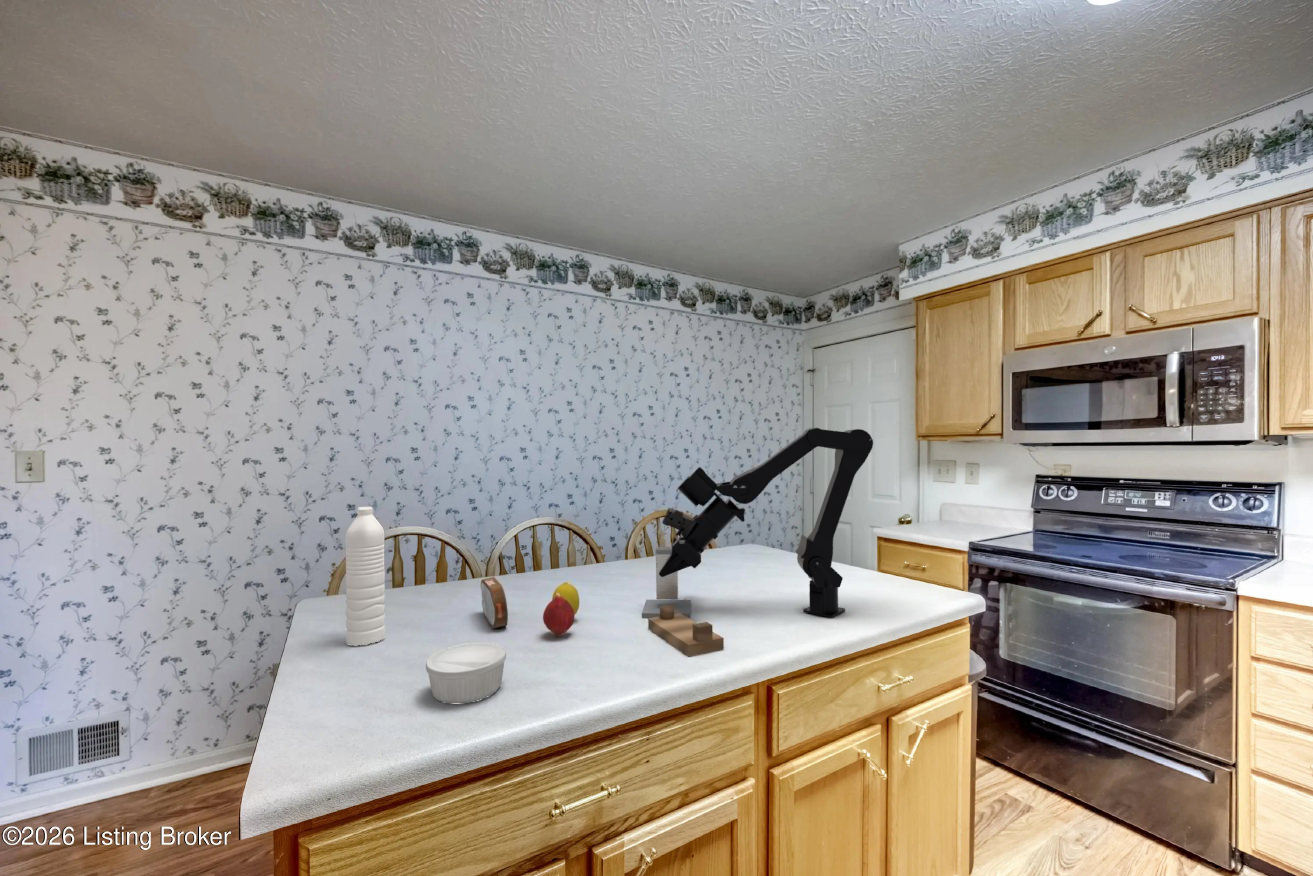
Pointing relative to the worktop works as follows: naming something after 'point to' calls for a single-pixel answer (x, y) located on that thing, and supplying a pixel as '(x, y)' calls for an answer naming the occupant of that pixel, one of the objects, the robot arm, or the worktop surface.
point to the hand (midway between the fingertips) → (660, 573)
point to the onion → (558, 615)
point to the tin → (494, 602)
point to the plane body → (685, 632)
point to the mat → (653, 606)
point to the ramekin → (466, 672)
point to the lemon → (568, 595)
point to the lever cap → (669, 583)
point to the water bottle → (365, 579)
